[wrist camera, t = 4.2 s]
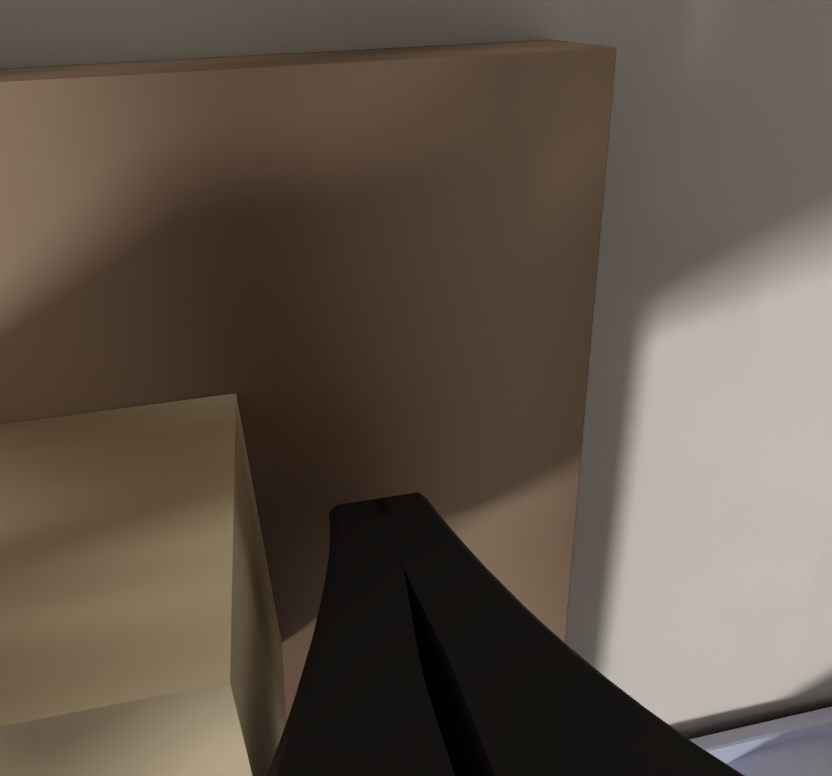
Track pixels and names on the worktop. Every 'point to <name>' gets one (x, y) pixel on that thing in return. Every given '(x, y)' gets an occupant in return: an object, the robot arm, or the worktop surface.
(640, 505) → the worktop surface
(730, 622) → the worktop surface
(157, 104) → the trap deck
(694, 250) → the worktop surface
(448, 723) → the robot arm
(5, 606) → the maple block
